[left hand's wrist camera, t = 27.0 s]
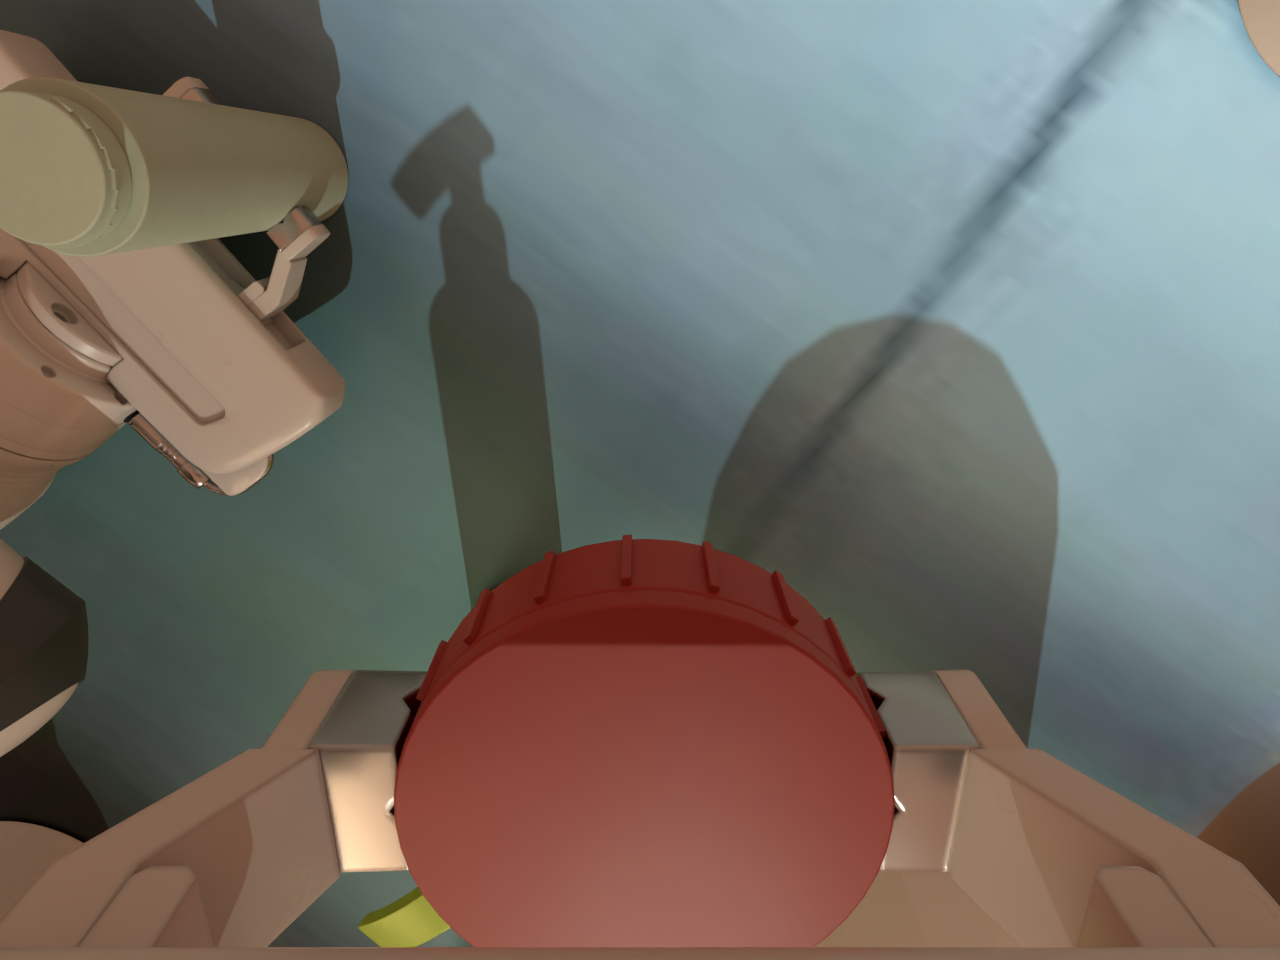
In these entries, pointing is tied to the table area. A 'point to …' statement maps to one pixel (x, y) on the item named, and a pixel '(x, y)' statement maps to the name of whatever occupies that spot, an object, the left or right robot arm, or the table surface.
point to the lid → (644, 759)
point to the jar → (152, 168)
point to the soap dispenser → (404, 922)
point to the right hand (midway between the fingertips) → (261, 157)
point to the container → (917, 915)
